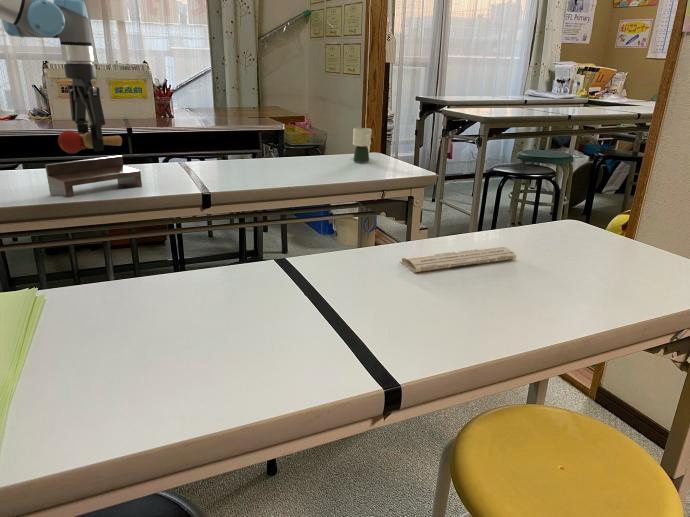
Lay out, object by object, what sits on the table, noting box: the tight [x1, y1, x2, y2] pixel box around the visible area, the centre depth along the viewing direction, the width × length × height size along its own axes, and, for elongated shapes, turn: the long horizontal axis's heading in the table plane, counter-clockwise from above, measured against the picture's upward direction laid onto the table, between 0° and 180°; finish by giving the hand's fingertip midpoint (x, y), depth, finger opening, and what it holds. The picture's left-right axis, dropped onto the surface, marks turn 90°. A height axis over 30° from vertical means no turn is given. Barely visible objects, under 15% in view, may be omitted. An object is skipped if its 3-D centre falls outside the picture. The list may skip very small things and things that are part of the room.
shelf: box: [44, 155, 143, 199], centre depth 149 cm, size 22×11×8 cm, turn 140°
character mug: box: [352, 127, 372, 163], centre depth 203 cm, size 11×7×13 cm, turn 27°
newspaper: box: [399, 245, 517, 273], centre depth 105 cm, size 24×7×2 cm, turn 112°
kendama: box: [57, 130, 123, 154], centre depth 145 cm, size 8×6×18 cm
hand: (92, 149), depth 146 cm, fingers closed on kendama, 7 cm apart
